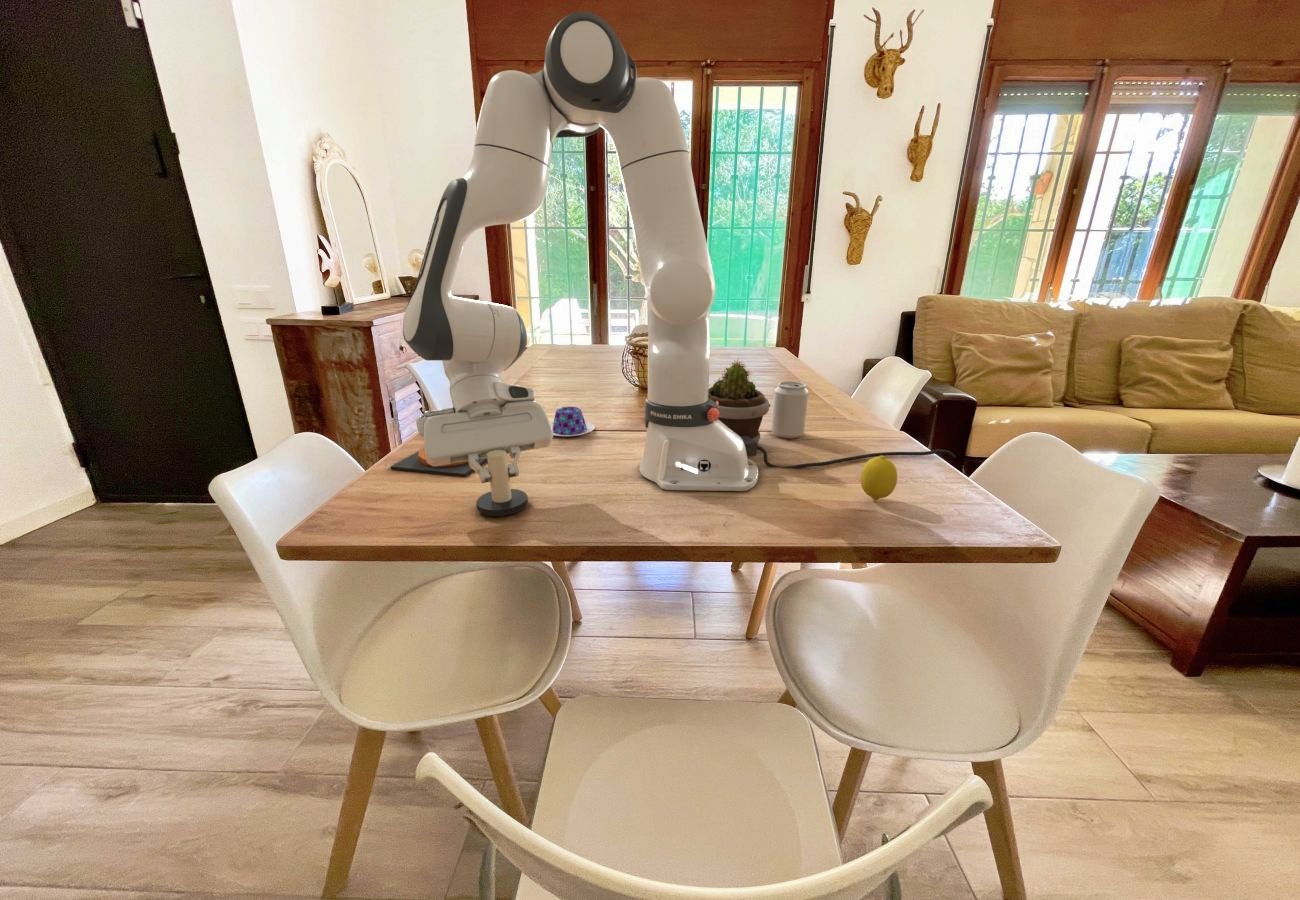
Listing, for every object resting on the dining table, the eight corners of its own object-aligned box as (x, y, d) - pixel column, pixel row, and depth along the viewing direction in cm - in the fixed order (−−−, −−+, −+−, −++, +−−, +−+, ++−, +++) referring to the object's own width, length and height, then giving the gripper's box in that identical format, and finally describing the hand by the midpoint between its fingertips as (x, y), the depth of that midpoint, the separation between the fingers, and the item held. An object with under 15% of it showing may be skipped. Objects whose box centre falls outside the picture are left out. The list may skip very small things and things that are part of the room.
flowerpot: (699, 432, 120) (703, 346, 113) (767, 437, 117) (774, 349, 110) (691, 454, 107) (694, 358, 100) (766, 460, 104) (775, 361, 97)
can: (808, 432, 120) (813, 382, 116) (798, 441, 114) (803, 388, 110) (776, 427, 124) (781, 378, 120) (765, 436, 118) (770, 384, 114)
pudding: (534, 436, 118) (532, 414, 116) (558, 421, 129) (556, 401, 127) (582, 441, 115) (581, 418, 113) (602, 425, 125) (602, 404, 124)
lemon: (890, 510, 83) (898, 464, 81) (854, 502, 86) (861, 457, 83) (895, 497, 88) (903, 453, 85) (861, 490, 91) (867, 447, 88)
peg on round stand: (535, 496, 87) (531, 446, 84) (513, 518, 80) (507, 464, 77) (493, 491, 89) (486, 442, 86) (467, 513, 81) (459, 460, 78)
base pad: (506, 447, 111) (505, 440, 110) (464, 476, 96) (463, 467, 96) (440, 442, 114) (439, 434, 114) (390, 469, 100) (389, 460, 99)
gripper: (412, 402, 80) (429, 483, 75) (542, 387, 88) (564, 458, 84) (415, 422, 85) (431, 499, 80) (537, 406, 94) (557, 474, 89)
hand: (500, 478), depth 82 cm, fingers closed on peg on round stand, 3 cm apart
